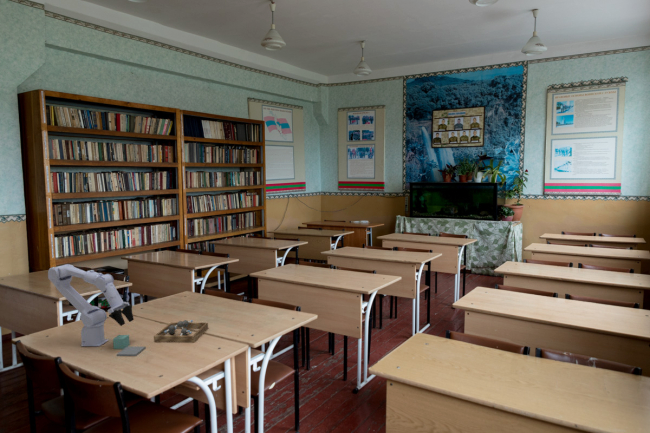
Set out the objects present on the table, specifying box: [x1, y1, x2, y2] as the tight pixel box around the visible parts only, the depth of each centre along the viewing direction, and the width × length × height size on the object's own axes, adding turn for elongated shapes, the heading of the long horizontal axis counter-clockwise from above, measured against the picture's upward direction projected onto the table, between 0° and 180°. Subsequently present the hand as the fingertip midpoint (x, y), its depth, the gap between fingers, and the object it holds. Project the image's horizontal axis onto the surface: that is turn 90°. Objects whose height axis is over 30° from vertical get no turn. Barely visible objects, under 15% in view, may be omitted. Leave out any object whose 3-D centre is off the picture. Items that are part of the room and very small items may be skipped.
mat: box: [116, 346, 147, 357], centre depth 199 cm, size 9×9×1 cm
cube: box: [112, 334, 131, 350], centre depth 206 cm, size 5×5×5 cm
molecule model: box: [164, 319, 194, 336], centre depth 222 cm, size 15×9×11 cm
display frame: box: [153, 321, 209, 343], centre depth 220 cm, size 20×20×3 cm
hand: (127, 322), depth 205 cm, fingers open, 7 cm apart
